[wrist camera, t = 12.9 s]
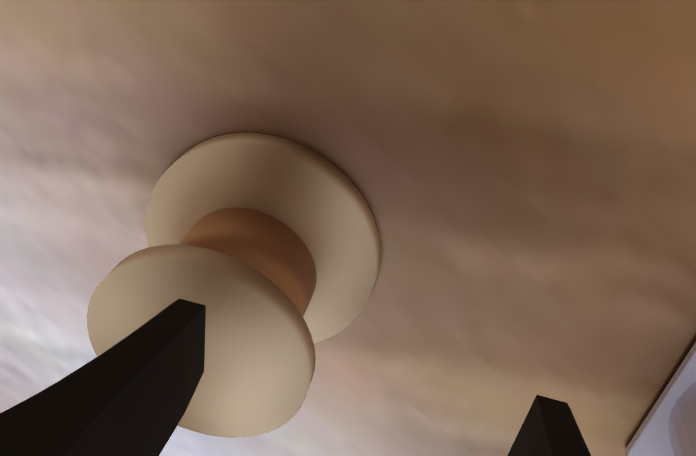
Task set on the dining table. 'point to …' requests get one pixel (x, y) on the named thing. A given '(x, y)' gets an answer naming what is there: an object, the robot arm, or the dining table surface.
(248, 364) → the bobbin
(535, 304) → the dining table surface
